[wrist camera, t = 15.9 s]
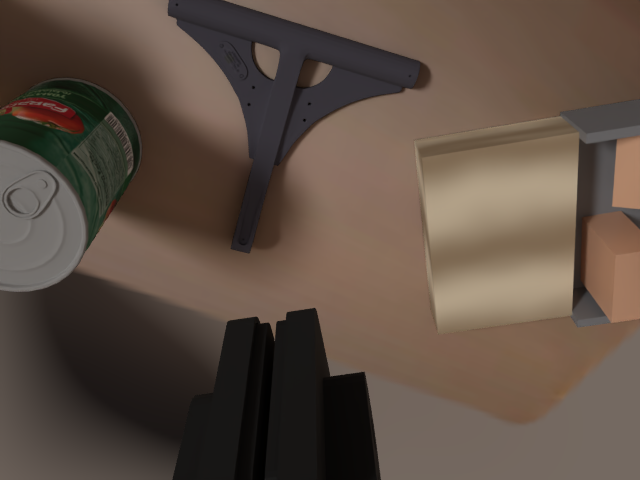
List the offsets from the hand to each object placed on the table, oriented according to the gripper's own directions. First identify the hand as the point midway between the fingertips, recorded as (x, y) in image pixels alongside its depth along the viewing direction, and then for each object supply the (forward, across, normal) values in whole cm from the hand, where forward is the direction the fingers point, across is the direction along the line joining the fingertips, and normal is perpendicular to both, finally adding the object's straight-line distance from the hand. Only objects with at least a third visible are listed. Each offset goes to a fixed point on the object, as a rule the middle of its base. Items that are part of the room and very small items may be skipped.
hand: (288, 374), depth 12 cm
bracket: (+28, +3, +5) cm, 29 cm away
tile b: (+24, -16, +16) cm, 33 cm away
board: (+27, -10, +12) cm, 32 cm away
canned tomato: (+27, +14, +2) cm, 31 cm away
